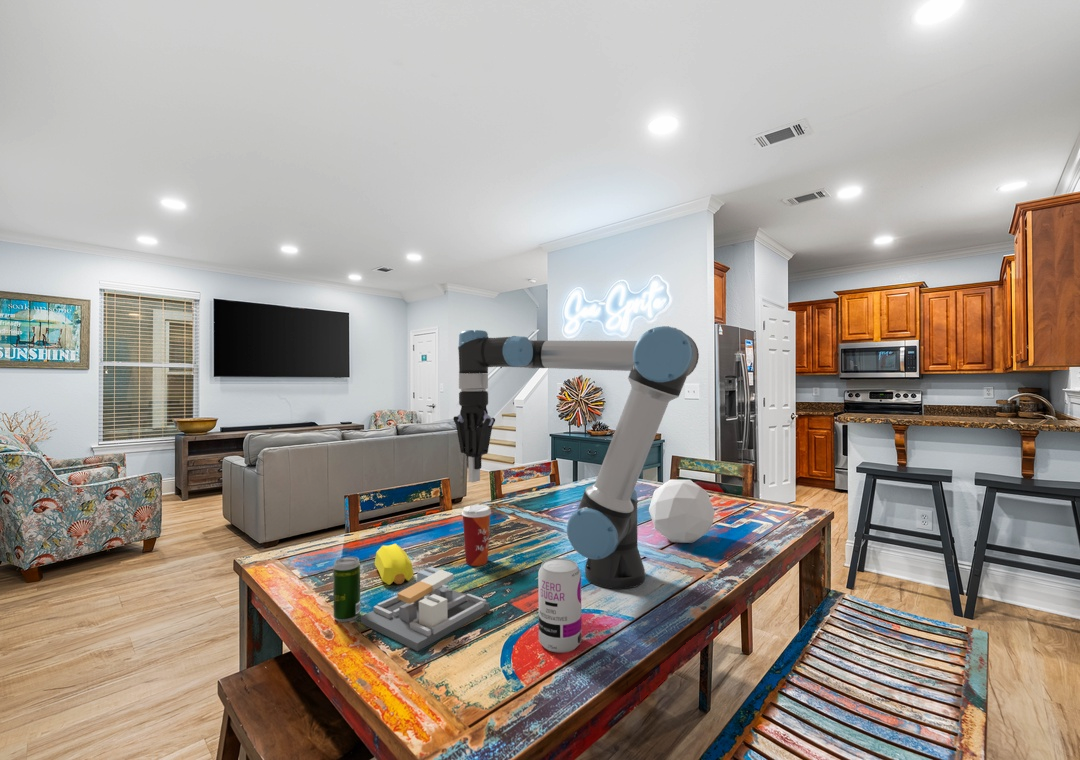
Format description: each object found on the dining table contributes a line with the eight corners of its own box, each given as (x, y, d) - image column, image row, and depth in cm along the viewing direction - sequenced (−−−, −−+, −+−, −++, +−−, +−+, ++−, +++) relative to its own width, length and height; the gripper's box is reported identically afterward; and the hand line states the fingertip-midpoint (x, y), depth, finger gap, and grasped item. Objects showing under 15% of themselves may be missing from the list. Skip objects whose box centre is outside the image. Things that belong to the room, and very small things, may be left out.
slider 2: (447, 621, 98) (447, 597, 98) (432, 629, 95) (432, 605, 95) (434, 615, 101) (433, 592, 101) (418, 623, 98) (418, 599, 98)
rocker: (453, 582, 108) (453, 573, 108) (410, 607, 98) (409, 598, 98) (441, 577, 110) (440, 569, 110) (398, 602, 101) (397, 593, 101)
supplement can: (578, 631, 98) (578, 556, 98) (583, 654, 90) (583, 573, 90) (538, 632, 98) (537, 557, 98) (539, 655, 89) (539, 573, 89)
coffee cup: (486, 568, 130) (486, 512, 130) (457, 566, 132) (457, 511, 132) (495, 557, 139) (495, 504, 139) (468, 555, 140) (467, 503, 140)
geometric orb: (699, 563, 151) (739, 519, 144) (648, 548, 144) (687, 501, 137) (675, 518, 167) (711, 476, 160) (629, 503, 160) (663, 458, 153)
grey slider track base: (490, 610, 107) (489, 582, 107) (417, 651, 91) (417, 619, 91) (434, 589, 118) (433, 564, 118) (360, 623, 102) (360, 594, 102)
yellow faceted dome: (384, 591, 117) (416, 584, 121) (384, 563, 117) (416, 558, 121) (372, 566, 133) (401, 561, 137) (372, 541, 133) (401, 537, 137)
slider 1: (442, 589, 113) (442, 569, 113) (428, 596, 110) (428, 575, 110) (430, 585, 116) (430, 565, 115) (417, 591, 112) (417, 571, 112)
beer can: (363, 610, 107) (363, 555, 107) (356, 622, 102) (356, 565, 102) (338, 611, 107) (337, 556, 107) (330, 623, 102) (329, 566, 102)
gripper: (502, 390, 125) (502, 481, 125) (465, 389, 133) (466, 476, 133) (482, 390, 119) (482, 487, 119) (445, 390, 127) (446, 480, 127)
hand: (474, 481), depth 126 cm, fingers closed
